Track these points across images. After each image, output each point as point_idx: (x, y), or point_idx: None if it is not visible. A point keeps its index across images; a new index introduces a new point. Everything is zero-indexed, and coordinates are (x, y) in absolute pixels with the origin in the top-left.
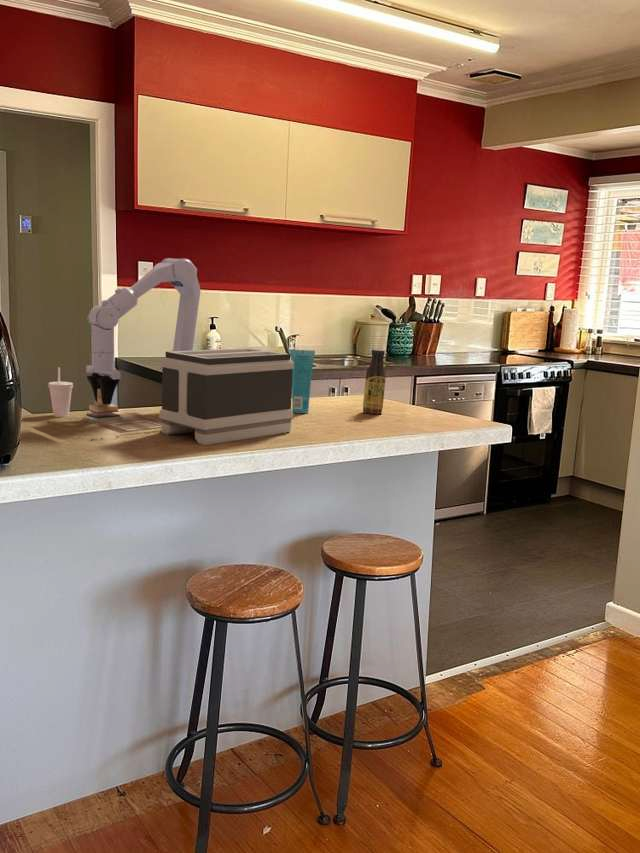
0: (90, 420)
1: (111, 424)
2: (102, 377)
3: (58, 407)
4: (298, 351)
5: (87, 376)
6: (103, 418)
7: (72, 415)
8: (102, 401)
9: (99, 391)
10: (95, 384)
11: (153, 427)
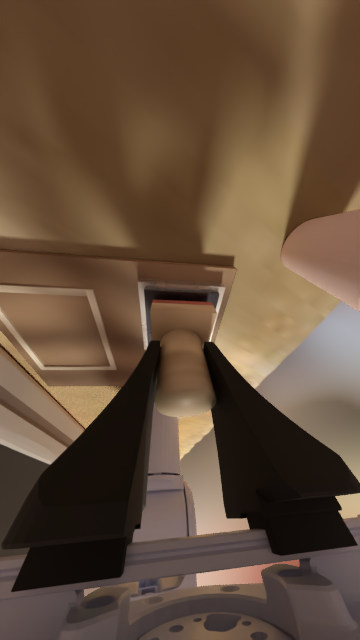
0: (181, 280)
1: (87, 294)
2: (237, 493)
3: (344, 219)
4: None
5: (352, 490)
6: (140, 303)
7: (301, 299)
8: (157, 346)
9: (175, 381)
10: (235, 418)
11: (26, 350)
